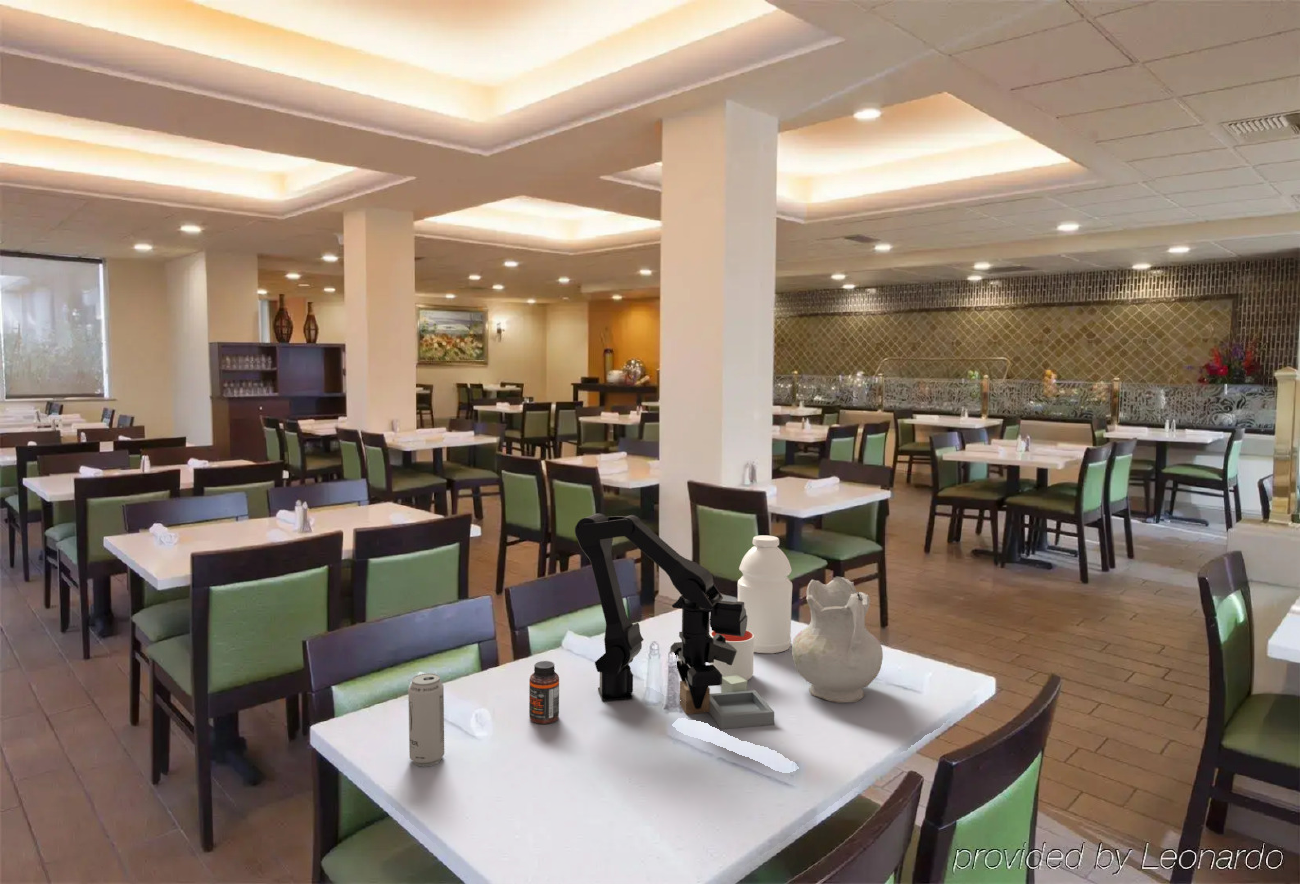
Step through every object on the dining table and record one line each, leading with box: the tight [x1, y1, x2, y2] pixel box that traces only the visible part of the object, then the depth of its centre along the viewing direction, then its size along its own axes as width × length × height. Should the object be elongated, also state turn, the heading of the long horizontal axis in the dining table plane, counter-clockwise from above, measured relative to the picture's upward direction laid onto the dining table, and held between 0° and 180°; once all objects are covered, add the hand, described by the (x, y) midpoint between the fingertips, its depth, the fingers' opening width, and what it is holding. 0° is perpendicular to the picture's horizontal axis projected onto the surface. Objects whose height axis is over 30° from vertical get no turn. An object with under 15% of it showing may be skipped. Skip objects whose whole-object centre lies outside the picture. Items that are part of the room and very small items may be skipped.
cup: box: [709, 630, 755, 681], centre depth 183 cm, size 10×10×10 cm
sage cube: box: [720, 675, 748, 693], centre depth 172 cm, size 4×4×4 cm
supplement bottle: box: [528, 660, 560, 725], centre depth 160 cm, size 6×6×11 cm
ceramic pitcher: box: [791, 575, 884, 704], centre depth 173 cm, size 22×20×25 cm
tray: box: [708, 689, 775, 730], centre depth 163 cm, size 11×11×3 cm
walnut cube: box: [679, 680, 711, 715], centre depth 166 cm, size 5×5×5 cm
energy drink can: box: [407, 672, 445, 767], centre depth 142 cm, size 6×6×15 cm
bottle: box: [737, 534, 793, 654], centre depth 204 cm, size 14×14×28 cm
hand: (694, 703), depth 166 cm, fingers closed on walnut cube, 5 cm apart
